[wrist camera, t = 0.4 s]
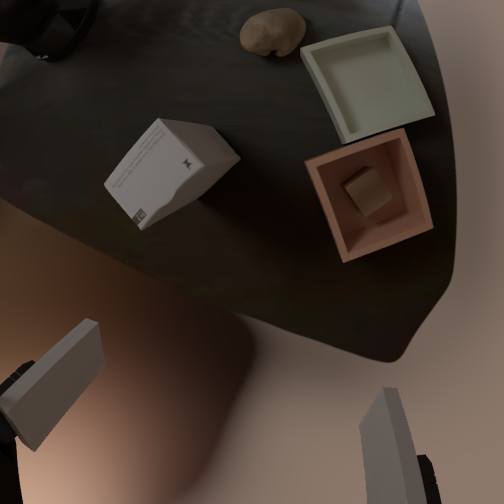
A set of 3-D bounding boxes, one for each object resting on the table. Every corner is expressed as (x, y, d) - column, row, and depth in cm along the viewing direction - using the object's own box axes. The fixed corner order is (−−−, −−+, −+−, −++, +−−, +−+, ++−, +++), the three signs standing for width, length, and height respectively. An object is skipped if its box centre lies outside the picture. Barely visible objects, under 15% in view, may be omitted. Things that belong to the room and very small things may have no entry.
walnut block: (339, 184, 33) (345, 187, 29) (365, 165, 31) (373, 167, 28) (357, 211, 33) (365, 217, 30) (383, 193, 32) (393, 197, 28)
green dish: (300, 56, 29) (300, 48, 26) (384, 34, 26) (391, 25, 23) (342, 144, 32) (346, 143, 29) (425, 117, 28) (435, 115, 26)
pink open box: (303, 161, 33) (305, 162, 27) (383, 132, 30) (403, 127, 24) (334, 243, 36) (343, 262, 29) (410, 214, 33) (433, 227, 26)
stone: (254, 26, 30) (224, 46, 27) (274, -5, 24) (244, 8, 22) (294, 52, 32) (270, 75, 29) (318, 23, 26) (297, 41, 23)
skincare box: (212, 126, 33) (160, 109, 19) (244, 160, 34) (208, 163, 20) (167, 170, 36) (98, 182, 22) (196, 203, 37) (139, 233, 23)
